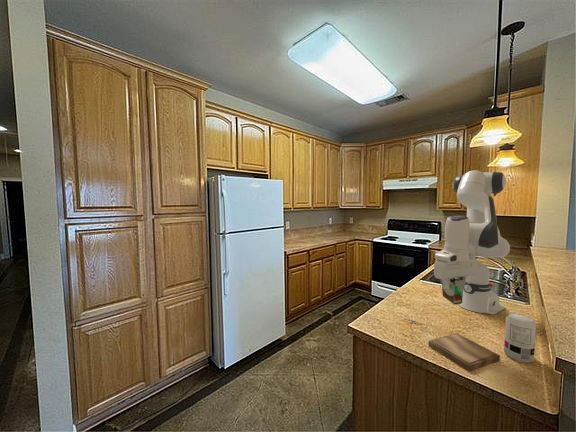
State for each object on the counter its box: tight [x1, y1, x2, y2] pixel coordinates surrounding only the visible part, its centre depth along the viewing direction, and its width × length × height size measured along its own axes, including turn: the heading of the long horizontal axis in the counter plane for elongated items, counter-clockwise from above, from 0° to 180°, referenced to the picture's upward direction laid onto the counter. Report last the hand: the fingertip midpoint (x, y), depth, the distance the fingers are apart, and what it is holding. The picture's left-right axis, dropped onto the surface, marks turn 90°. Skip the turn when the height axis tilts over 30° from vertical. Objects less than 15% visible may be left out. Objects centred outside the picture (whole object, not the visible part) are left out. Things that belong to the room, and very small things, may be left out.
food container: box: [441, 277, 466, 306], centre depth 105 cm, size 12×6×10 cm, turn 173°
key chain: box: [402, 318, 430, 333], centre depth 116 cm, size 13×7×1 cm, turn 45°
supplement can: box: [503, 312, 537, 364], centre depth 92 cm, size 8×8×15 cm
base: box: [428, 332, 501, 372], centre depth 95 cm, size 16×16×2 cm
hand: (454, 287), depth 104 cm, fingers closed on food container, 6 cm apart
